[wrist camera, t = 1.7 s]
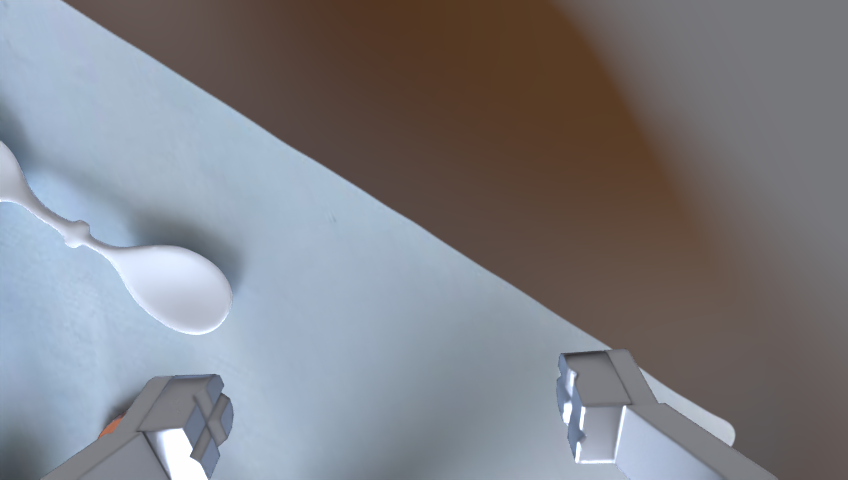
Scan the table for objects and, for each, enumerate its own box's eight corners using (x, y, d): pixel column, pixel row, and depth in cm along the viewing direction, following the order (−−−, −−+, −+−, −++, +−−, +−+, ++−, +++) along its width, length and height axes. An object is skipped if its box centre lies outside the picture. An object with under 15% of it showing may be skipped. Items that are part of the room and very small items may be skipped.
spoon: (-33, 100, 45) (-65, 98, 42) (253, 281, 53) (245, 291, 49) (-77, 174, 46) (-112, 177, 43) (209, 341, 54) (198, 355, 50)
